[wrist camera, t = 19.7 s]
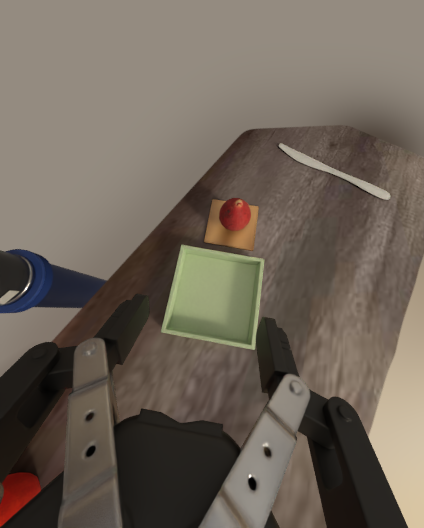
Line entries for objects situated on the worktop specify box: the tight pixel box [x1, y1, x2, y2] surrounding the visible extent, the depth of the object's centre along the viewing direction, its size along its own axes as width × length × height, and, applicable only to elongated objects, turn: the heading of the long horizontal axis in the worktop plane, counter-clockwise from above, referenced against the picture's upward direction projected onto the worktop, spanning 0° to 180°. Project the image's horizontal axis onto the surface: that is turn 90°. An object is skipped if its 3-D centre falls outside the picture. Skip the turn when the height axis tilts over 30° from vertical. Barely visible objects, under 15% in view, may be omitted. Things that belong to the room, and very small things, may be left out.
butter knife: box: [279, 144, 391, 200], centre depth 41 cm, size 1×27×3 cm
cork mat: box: [204, 199, 259, 251], centre depth 37 cm, size 10×10×1 cm
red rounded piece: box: [219, 198, 251, 231], centre depth 33 cm, size 6×6×8 cm
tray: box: [161, 245, 264, 350], centre depth 32 cm, size 15×15×3 cm
